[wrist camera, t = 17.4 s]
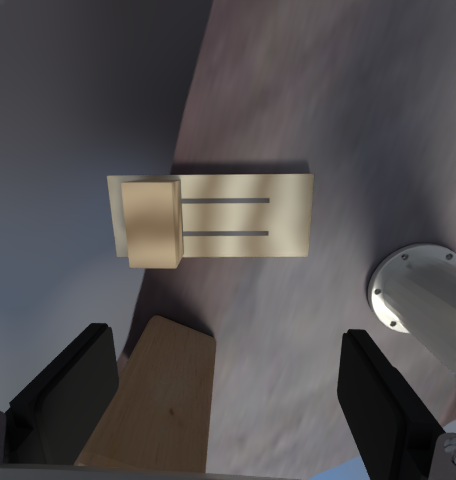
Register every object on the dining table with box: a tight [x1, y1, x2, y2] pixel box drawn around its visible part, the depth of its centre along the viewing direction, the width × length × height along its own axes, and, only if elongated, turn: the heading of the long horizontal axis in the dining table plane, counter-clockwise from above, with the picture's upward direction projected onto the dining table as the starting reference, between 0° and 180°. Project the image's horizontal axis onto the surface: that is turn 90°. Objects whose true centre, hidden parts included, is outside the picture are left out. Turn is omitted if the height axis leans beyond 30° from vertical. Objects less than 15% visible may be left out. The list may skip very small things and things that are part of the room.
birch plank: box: [107, 174, 314, 257], centre depth 33 cm, size 24×10×2 cm, turn 90°
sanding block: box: [121, 180, 184, 268], centre depth 30 cm, size 9×5×5 cm, turn 0°
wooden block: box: [74, 315, 216, 473], centre depth 29 cm, size 10×10×20 cm
